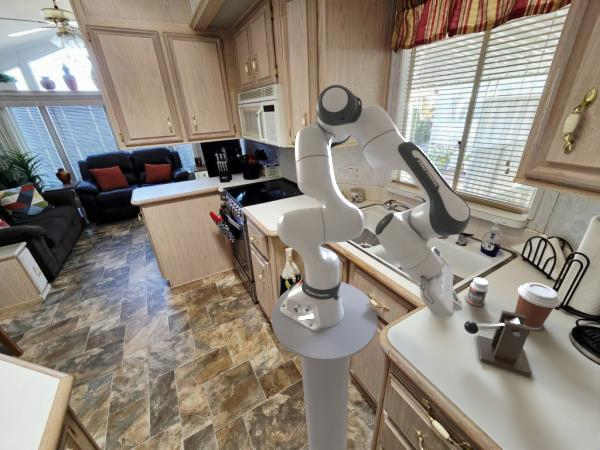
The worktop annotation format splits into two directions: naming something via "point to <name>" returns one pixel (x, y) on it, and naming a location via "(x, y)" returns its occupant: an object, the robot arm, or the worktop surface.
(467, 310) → the worktop surface
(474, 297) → the pill bottle
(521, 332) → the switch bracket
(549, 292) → the coffee cup
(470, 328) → the lever
